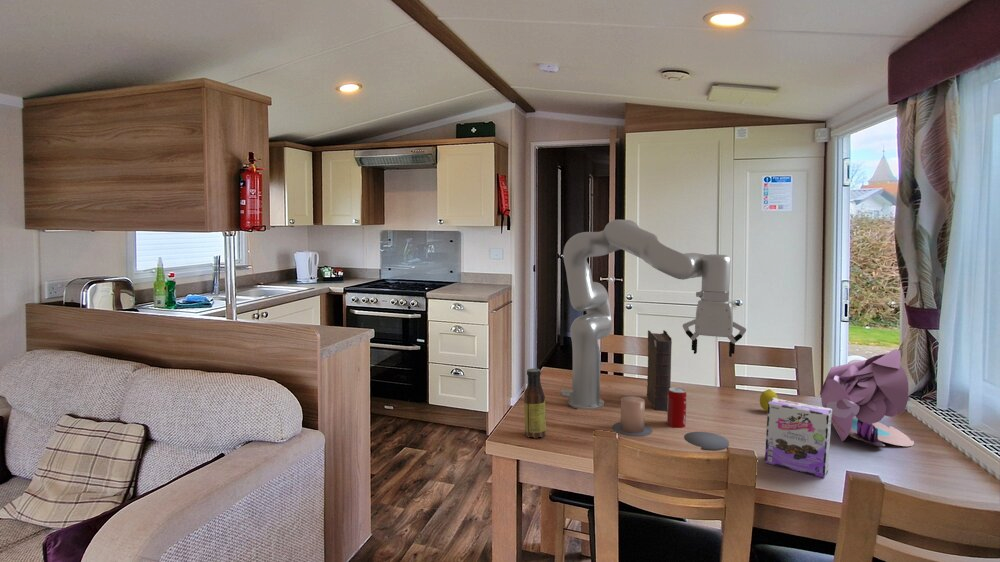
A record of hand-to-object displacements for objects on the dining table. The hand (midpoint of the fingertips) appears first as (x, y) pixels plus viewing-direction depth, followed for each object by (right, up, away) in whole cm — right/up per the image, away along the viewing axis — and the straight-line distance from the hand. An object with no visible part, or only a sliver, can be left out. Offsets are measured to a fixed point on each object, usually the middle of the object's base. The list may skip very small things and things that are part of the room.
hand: (712, 354), depth 156 cm
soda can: (-8, -24, +8) cm, 26 cm away
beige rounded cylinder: (-23, -23, +5) cm, 33 cm away
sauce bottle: (-52, -25, +2) cm, 58 cm away
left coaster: (-23, -24, +5) cm, 33 cm away
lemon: (+27, -23, +20) cm, 40 cm away
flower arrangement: (+48, -24, +2) cm, 54 cm away
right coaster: (-3, -25, -3) cm, 25 cm away
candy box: (+14, -27, -19) cm, 36 cm away
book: (-8, -22, +29) cm, 37 cm away
